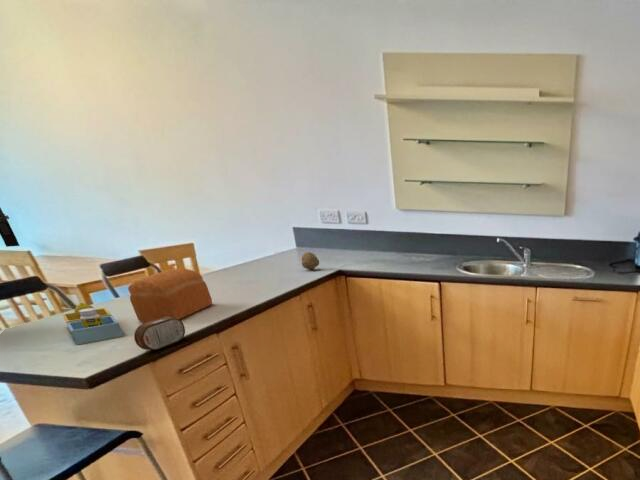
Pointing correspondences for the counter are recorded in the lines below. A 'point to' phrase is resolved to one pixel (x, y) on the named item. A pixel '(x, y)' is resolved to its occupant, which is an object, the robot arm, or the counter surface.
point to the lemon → (80, 307)
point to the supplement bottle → (90, 318)
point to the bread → (169, 295)
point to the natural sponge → (309, 261)
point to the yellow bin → (72, 318)
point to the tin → (159, 333)
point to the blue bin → (95, 331)
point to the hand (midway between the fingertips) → (12, 243)
